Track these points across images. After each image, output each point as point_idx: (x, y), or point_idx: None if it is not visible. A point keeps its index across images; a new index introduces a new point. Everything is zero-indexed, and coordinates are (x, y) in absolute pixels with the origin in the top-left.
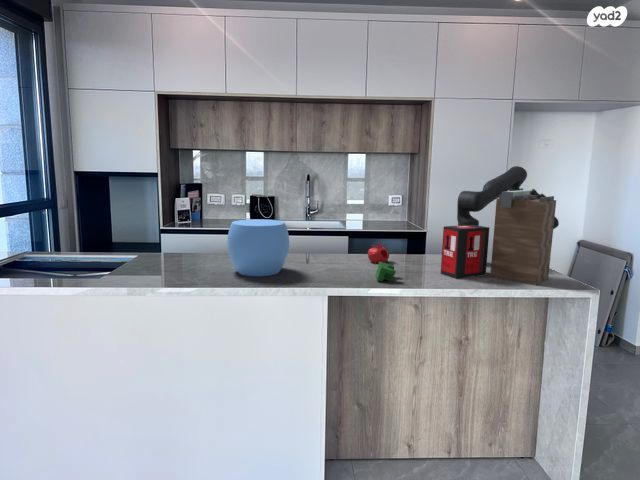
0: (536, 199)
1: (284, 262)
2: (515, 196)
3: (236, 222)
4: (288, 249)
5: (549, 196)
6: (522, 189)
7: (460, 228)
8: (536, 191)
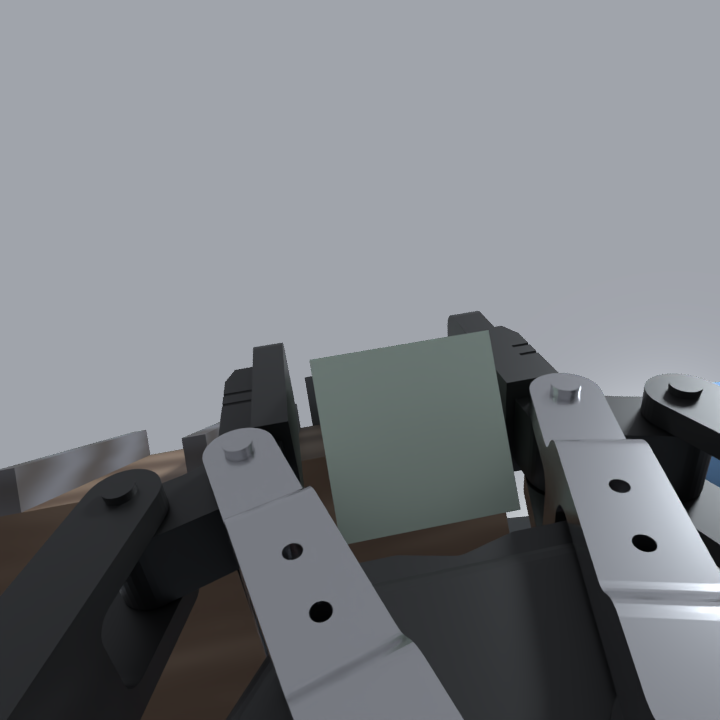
0: (186, 471)
1: (717, 485)
2: (296, 406)
3: (715, 383)
4: (711, 457)
5: (57, 455)
6: (453, 333)
7: (524, 525)
8: (224, 395)
